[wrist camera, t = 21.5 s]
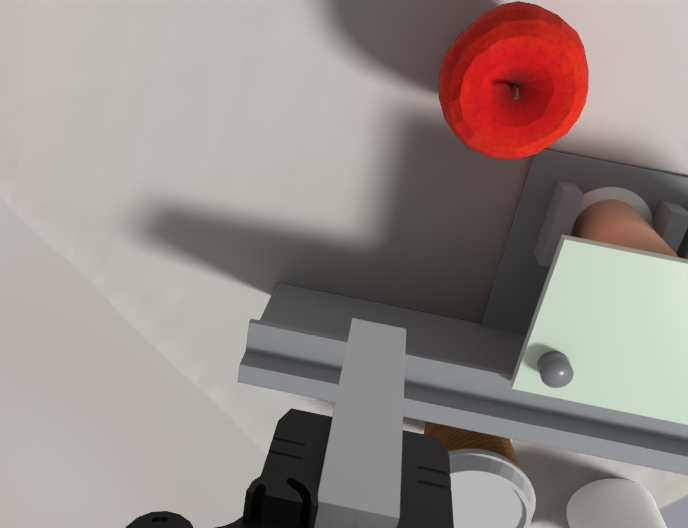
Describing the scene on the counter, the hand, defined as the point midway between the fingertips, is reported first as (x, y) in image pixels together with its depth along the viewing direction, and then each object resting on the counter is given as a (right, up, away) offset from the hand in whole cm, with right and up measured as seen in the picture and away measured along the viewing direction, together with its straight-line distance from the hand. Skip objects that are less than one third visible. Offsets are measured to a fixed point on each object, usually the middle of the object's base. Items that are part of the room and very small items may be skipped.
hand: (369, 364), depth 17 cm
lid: (+20, -2, +22) cm, 30 cm away
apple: (+10, +17, +27) cm, 34 cm away
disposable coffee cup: (+10, -11, +40) cm, 43 cm away
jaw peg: (+19, +5, +30) cm, 36 cm away
